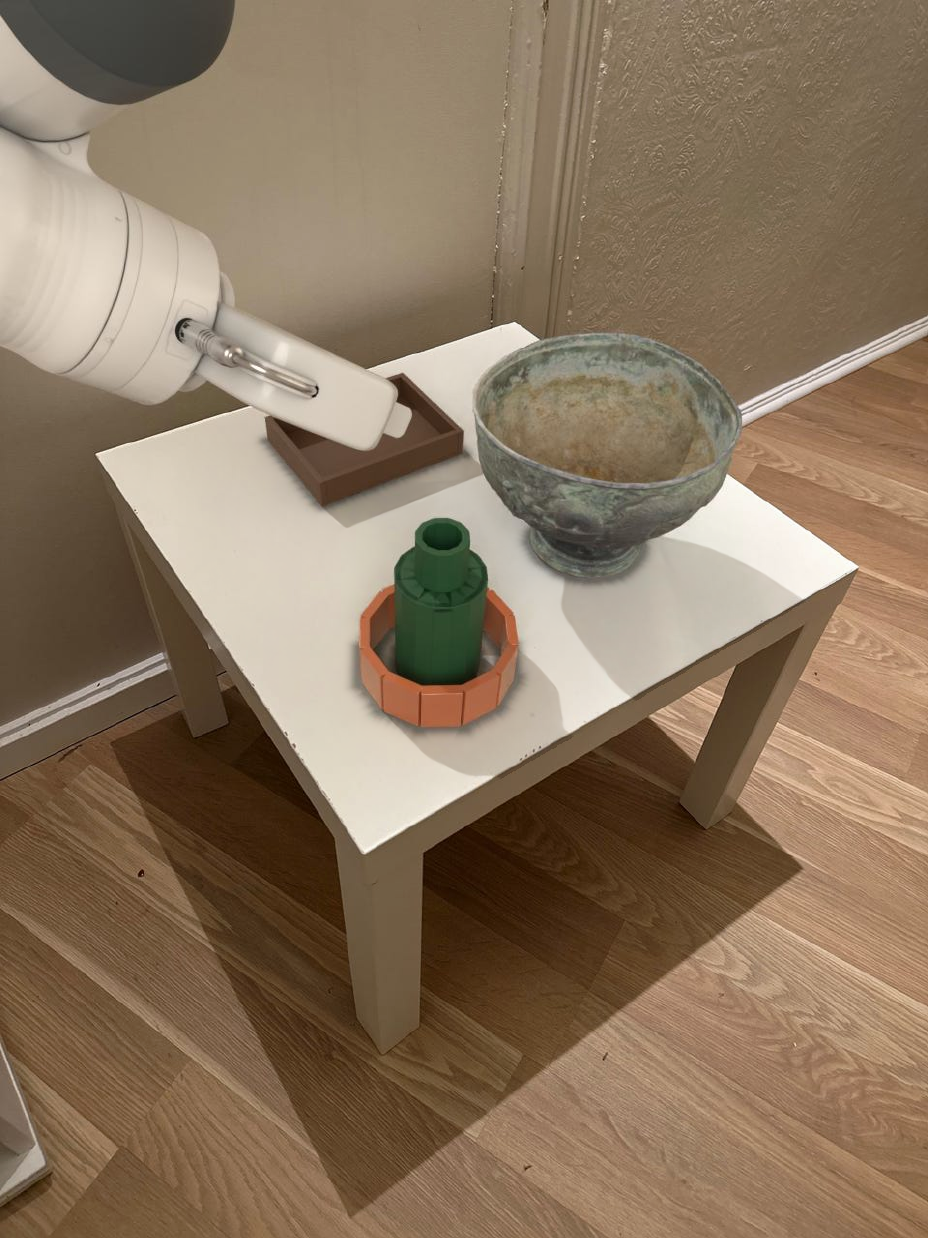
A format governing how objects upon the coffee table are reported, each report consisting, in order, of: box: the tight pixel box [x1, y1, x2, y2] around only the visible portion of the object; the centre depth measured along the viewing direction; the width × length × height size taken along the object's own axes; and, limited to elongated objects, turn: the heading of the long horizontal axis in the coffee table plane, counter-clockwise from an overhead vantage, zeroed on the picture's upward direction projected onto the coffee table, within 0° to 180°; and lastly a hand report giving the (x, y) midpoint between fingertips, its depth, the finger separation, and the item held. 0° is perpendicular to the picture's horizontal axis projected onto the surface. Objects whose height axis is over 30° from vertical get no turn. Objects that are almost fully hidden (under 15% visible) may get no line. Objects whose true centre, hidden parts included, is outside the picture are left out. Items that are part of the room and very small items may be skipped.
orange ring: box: [358, 583, 520, 728], centre depth 67 cm, size 12×12×4 cm
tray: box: [264, 372, 465, 507], centre depth 85 cm, size 15×11×3 cm
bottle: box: [393, 517, 489, 686], centre depth 63 cm, size 6×6×14 cm
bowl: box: [471, 331, 743, 579], centre depth 73 cm, size 20×19×15 cm
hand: (354, 397), depth 53 cm, fingers open, 8 cm apart
